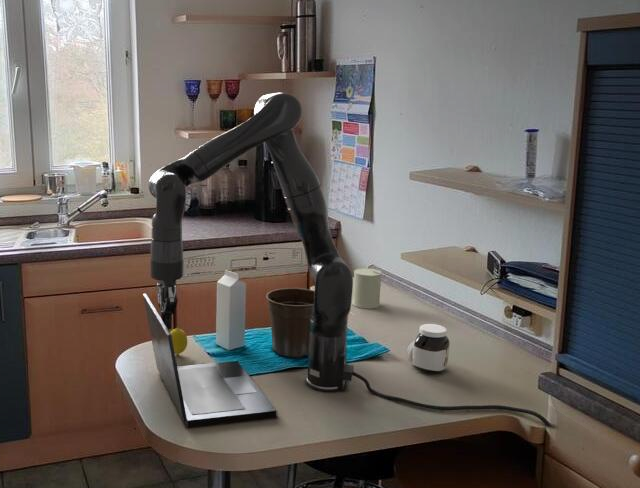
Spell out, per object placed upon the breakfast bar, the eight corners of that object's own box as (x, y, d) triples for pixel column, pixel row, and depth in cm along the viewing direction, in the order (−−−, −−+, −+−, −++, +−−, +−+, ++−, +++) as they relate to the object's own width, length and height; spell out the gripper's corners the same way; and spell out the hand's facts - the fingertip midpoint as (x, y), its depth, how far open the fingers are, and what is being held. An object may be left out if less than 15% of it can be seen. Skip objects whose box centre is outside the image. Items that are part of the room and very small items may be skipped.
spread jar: (434, 379, 191) (438, 336, 188) (395, 367, 198) (398, 326, 196) (454, 365, 200) (458, 325, 197) (415, 354, 207) (418, 315, 204)
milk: (228, 350, 209) (230, 276, 204) (215, 344, 213) (216, 271, 208) (245, 345, 212) (246, 272, 207) (231, 339, 217) (233, 267, 212)
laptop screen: (146, 293, 186) (142, 293, 186) (171, 334, 158) (167, 335, 158) (160, 367, 192) (157, 368, 192) (187, 420, 164) (183, 421, 163)
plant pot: (260, 357, 204) (261, 302, 200) (268, 337, 219) (270, 285, 215) (319, 363, 200) (322, 307, 196) (324, 342, 215) (326, 290, 212)
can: (376, 310, 244) (378, 275, 242) (349, 306, 248) (351, 272, 245) (382, 302, 252) (384, 268, 250) (355, 298, 256) (357, 265, 254)
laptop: (237, 367, 197) (237, 360, 197) (276, 417, 169) (276, 410, 169) (160, 374, 192) (160, 367, 192) (187, 428, 164) (187, 420, 163)
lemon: (180, 360, 201) (180, 332, 200) (163, 356, 204) (163, 328, 202) (191, 353, 206) (191, 326, 204) (174, 349, 209) (174, 323, 207)
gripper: (189, 264, 164) (188, 337, 168) (176, 249, 177) (175, 318, 181) (156, 265, 162) (156, 339, 166) (145, 251, 175) (145, 320, 179)
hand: (166, 328), depth 174 cm, fingers closed
